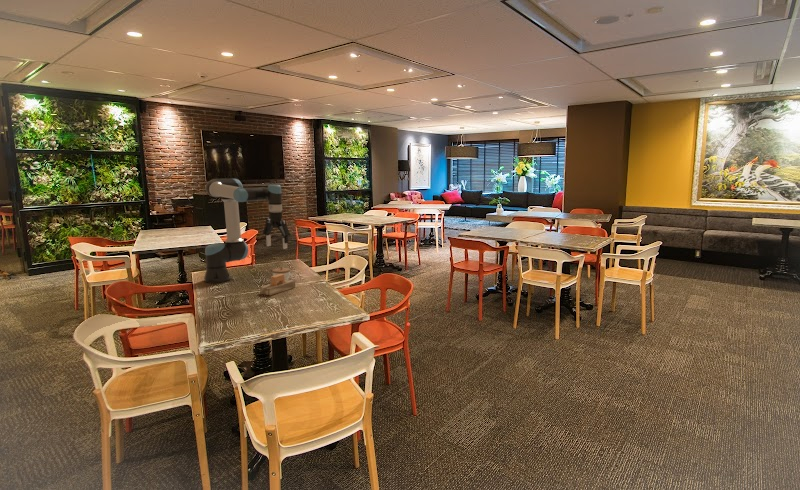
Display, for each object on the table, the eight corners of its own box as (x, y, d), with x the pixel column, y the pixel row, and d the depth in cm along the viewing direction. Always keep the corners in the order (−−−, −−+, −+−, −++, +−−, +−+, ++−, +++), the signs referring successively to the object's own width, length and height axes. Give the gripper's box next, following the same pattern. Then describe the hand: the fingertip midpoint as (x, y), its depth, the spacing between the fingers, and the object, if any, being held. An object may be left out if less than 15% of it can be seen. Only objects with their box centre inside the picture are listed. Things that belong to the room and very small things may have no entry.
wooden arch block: (271, 291, 249) (270, 276, 247) (281, 288, 255) (280, 273, 254) (275, 292, 247) (274, 277, 246) (285, 289, 254) (284, 274, 252)
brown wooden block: (260, 293, 245) (259, 286, 244) (285, 285, 262) (285, 279, 261) (270, 295, 241) (269, 288, 240) (295, 287, 258) (294, 280, 257)
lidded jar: (293, 279, 276) (292, 265, 274) (287, 283, 266) (286, 269, 264) (277, 279, 277) (276, 265, 275) (270, 283, 267) (269, 268, 265)
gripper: (255, 210, 251) (257, 245, 255) (286, 213, 238) (287, 250, 242) (265, 209, 257) (267, 244, 261) (295, 212, 245) (296, 248, 249)
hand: (276, 247), depth 252 cm, fingers open, 13 cm apart
